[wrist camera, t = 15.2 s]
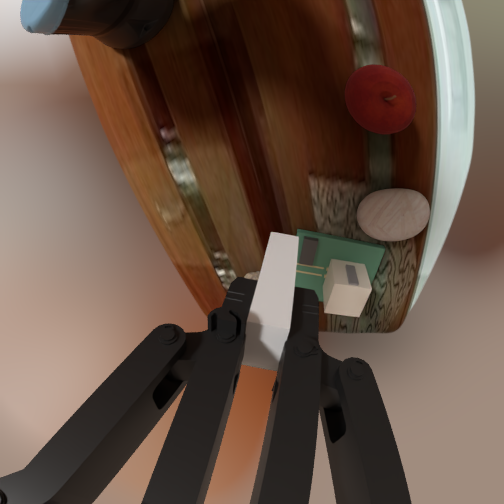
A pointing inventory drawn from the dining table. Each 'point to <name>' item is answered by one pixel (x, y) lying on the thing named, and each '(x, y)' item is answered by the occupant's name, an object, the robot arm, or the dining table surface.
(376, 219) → the decorative stone
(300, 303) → the robot arm
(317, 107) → the dining table surface
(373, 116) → the apple
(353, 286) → the plug
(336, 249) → the board
